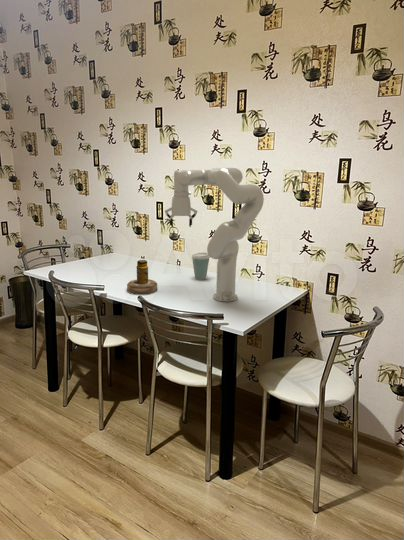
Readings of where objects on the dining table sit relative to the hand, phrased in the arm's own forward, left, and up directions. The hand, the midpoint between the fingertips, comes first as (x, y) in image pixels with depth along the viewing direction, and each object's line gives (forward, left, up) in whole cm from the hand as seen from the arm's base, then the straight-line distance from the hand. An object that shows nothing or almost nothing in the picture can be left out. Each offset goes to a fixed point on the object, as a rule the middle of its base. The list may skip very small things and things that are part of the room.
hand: (181, 226), depth 231 cm
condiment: (-7, +22, -30) cm, 37 cm away
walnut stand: (-7, +21, -33) cm, 40 cm away
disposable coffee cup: (+14, -12, -34) cm, 38 cm away
